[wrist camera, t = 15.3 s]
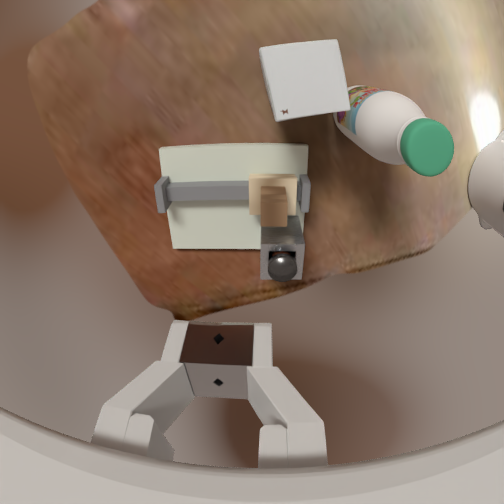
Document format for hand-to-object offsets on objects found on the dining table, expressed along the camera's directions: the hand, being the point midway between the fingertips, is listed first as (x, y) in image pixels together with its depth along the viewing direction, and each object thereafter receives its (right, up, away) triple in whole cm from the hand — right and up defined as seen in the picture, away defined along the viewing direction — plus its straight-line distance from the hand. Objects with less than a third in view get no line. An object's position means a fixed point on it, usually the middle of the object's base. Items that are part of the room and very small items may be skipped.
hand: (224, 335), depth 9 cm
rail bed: (-2, +10, +34) cm, 36 cm away
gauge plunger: (+5, +5, +34) cm, 35 cm away
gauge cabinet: (+5, +6, +37) cm, 37 cm away
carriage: (+4, +11, +32) cm, 34 cm away
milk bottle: (+15, +21, +27) cm, 37 cm away
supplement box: (+6, +25, +25) cm, 35 cm away
